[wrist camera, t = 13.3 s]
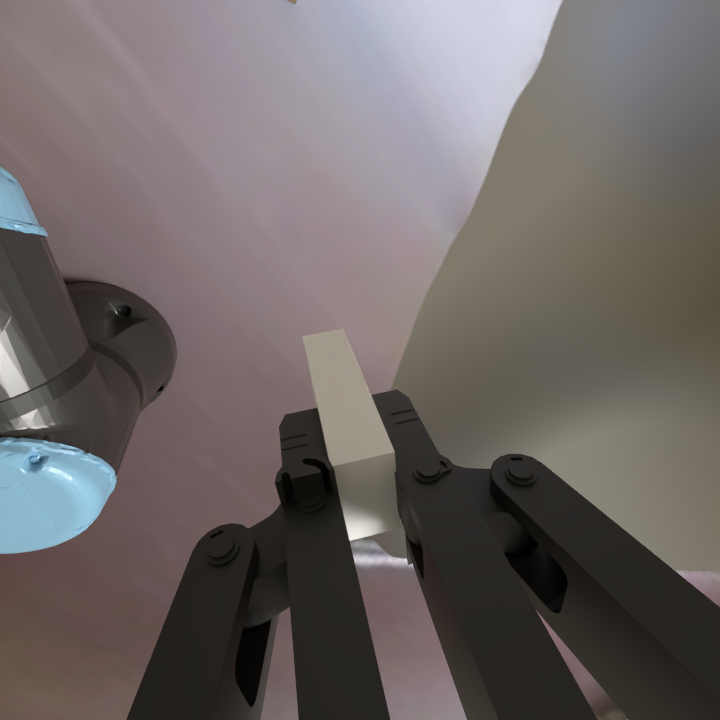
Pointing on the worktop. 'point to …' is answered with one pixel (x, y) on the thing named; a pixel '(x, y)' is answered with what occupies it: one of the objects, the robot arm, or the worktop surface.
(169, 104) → the worktop surface
